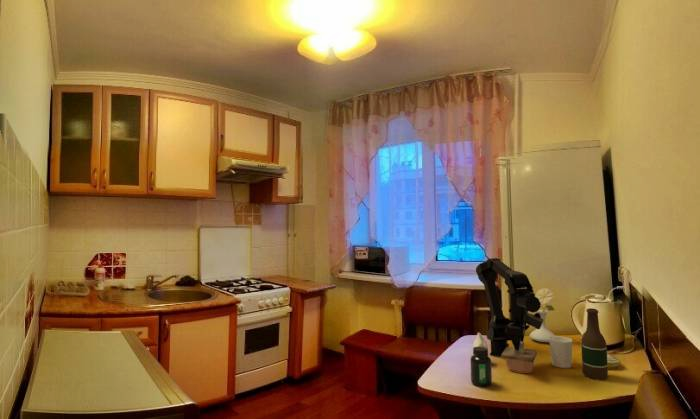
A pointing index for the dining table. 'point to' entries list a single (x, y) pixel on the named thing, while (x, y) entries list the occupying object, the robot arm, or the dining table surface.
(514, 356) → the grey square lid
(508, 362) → the terracotta bowl
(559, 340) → the white cup
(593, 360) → the beer bottle
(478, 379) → the supplement bottle
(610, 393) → the dining table surface
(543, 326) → the flower in vase
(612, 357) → the decorated donut
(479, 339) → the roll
